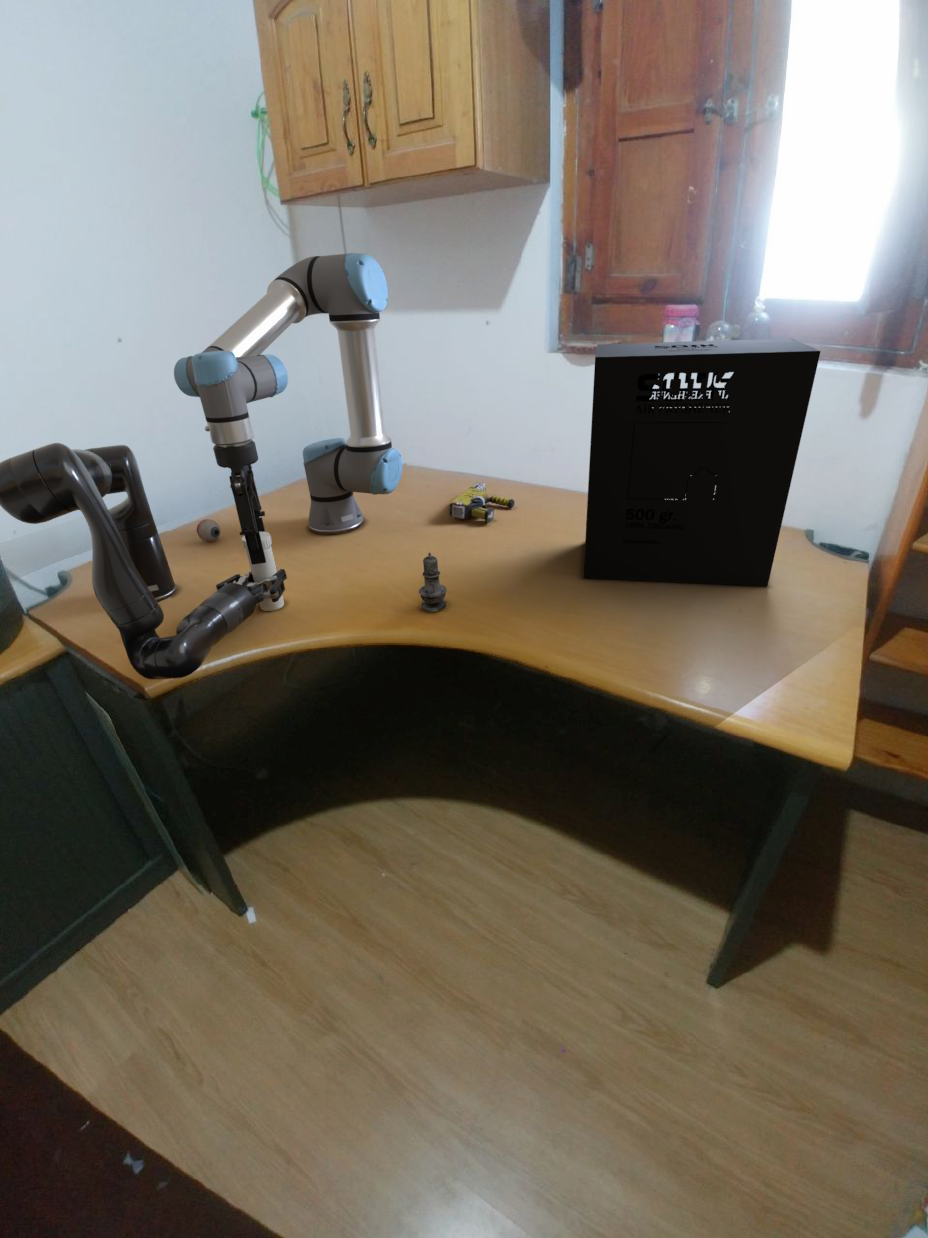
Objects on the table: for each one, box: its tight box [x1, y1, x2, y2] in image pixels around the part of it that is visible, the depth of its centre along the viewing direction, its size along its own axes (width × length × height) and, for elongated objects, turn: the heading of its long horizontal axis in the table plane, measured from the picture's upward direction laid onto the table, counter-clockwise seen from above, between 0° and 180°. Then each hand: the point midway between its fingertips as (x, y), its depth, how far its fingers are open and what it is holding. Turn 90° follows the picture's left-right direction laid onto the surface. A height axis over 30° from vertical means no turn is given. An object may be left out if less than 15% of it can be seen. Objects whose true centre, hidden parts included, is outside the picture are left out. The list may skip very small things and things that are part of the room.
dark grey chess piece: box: [417, 551, 448, 613], centre depth 122 cm, size 6×6×12 cm
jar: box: [245, 544, 285, 612], centre depth 126 cm, size 5×5×15 cm
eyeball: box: [196, 518, 222, 543], centre depth 162 cm, size 6×6×6 cm
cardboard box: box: [583, 337, 821, 587], centre depth 126 cm, size 38×20×45 cm, turn 78°
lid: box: [241, 531, 273, 550], centre depth 122 cm, size 6×6×2 cm
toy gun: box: [448, 481, 515, 523], centre depth 173 cm, size 5×24×15 cm
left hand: (272, 572), depth 128 cm, fingers closed on jar, 5 cm apart
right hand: (260, 555), depth 124 cm, fingers open, 7 cm apart
